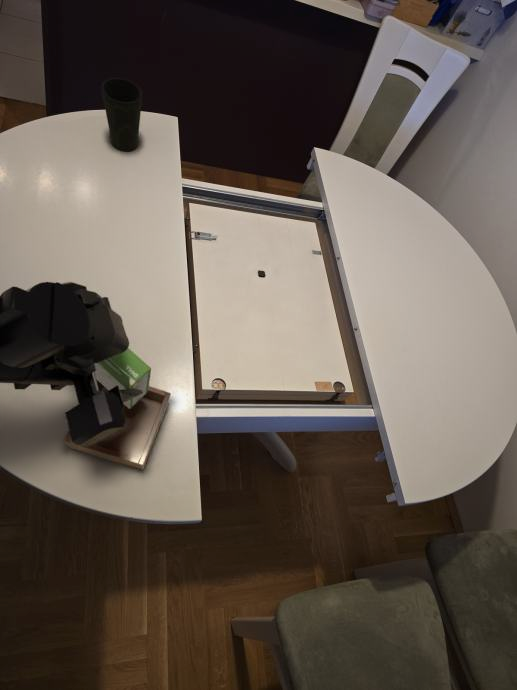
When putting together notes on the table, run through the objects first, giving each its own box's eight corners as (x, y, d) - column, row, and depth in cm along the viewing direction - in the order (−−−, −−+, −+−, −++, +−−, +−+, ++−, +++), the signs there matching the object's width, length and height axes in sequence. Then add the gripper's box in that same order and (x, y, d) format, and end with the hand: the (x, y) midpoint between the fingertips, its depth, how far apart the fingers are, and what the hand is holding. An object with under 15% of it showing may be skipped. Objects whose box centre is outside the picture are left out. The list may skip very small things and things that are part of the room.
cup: (104, 130, 87) (98, 75, 77) (139, 131, 90) (138, 78, 79) (109, 155, 84) (104, 102, 74) (145, 155, 87) (145, 104, 77)
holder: (69, 447, 58) (63, 441, 54) (102, 380, 64) (99, 369, 60) (143, 470, 60) (143, 465, 55) (168, 402, 65) (170, 393, 61)
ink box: (149, 391, 58) (153, 356, 47) (129, 410, 56) (128, 378, 45) (116, 361, 59) (111, 318, 47) (95, 378, 57) (84, 339, 45)
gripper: (96, 407, 33) (200, 404, 47) (49, 234, 39) (154, 277, 53) (16, 456, 37) (135, 440, 51) (-16, 292, 42) (98, 318, 56)
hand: (131, 366), depth 52 cm, fingers closed on ink box, 8 cm apart
